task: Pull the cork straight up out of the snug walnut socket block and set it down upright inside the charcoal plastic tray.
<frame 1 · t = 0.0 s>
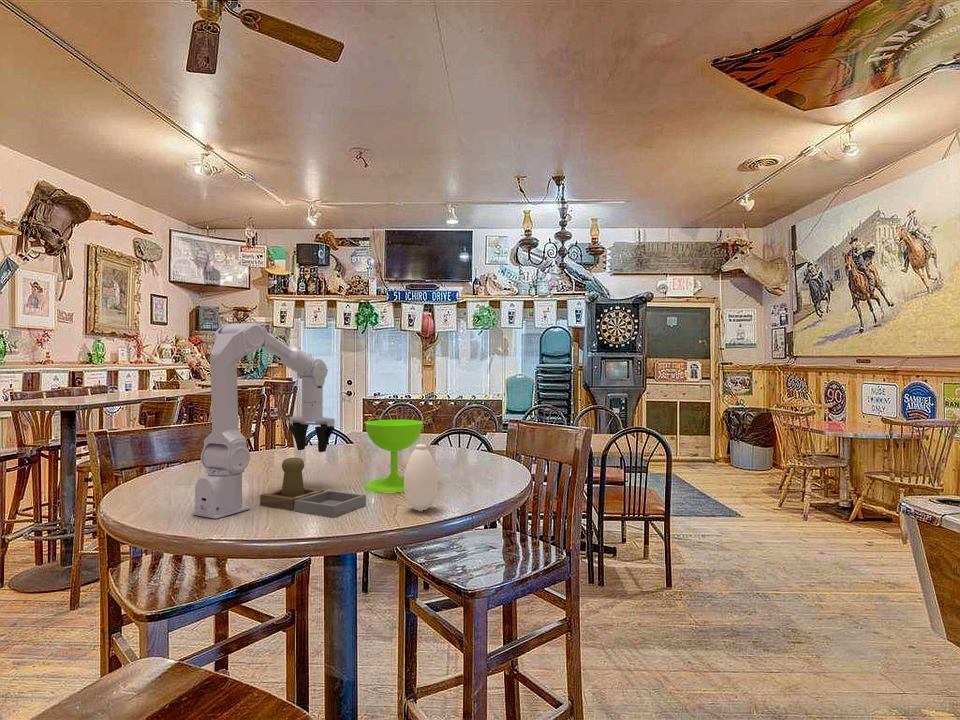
hand: (311, 450, 149), 10 cm above the table, tool pointing down, fingers open, 7 cm apart
cork: (292, 503, 132), resting in socket block
tray: (330, 508, 127), on the table
wineglass: (393, 487, 150), on the table
socket block: (292, 502, 132), on the table
sauce bottle: (420, 511, 125), on the table
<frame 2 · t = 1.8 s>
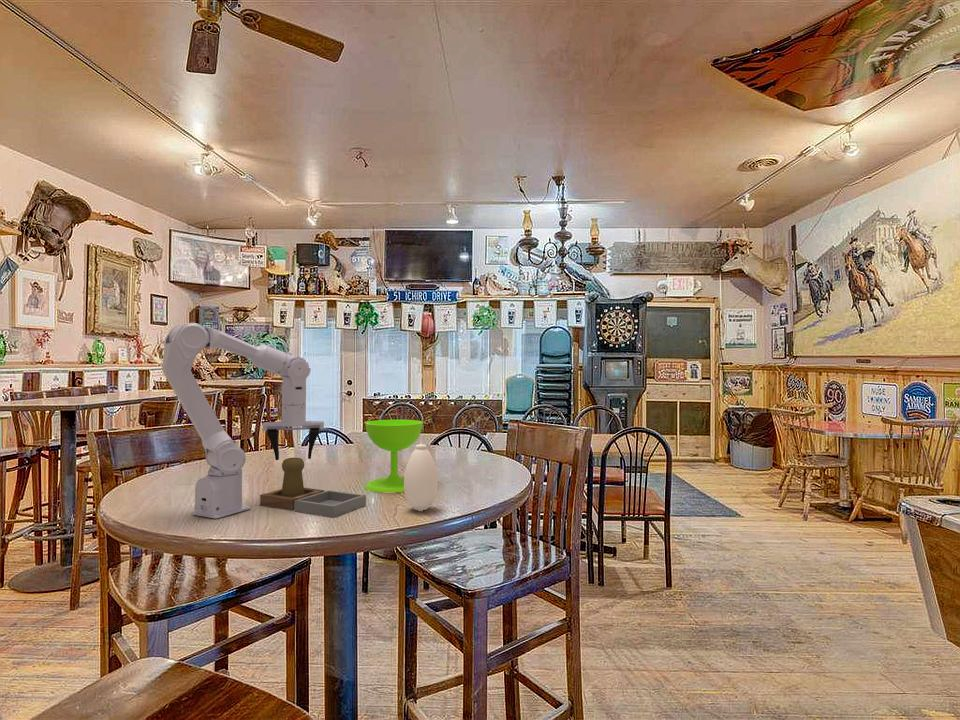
hand: (293, 458, 134), 10 cm above the table, tool pointing down, fingers open, 7 cm apart
nothing on the table moved.
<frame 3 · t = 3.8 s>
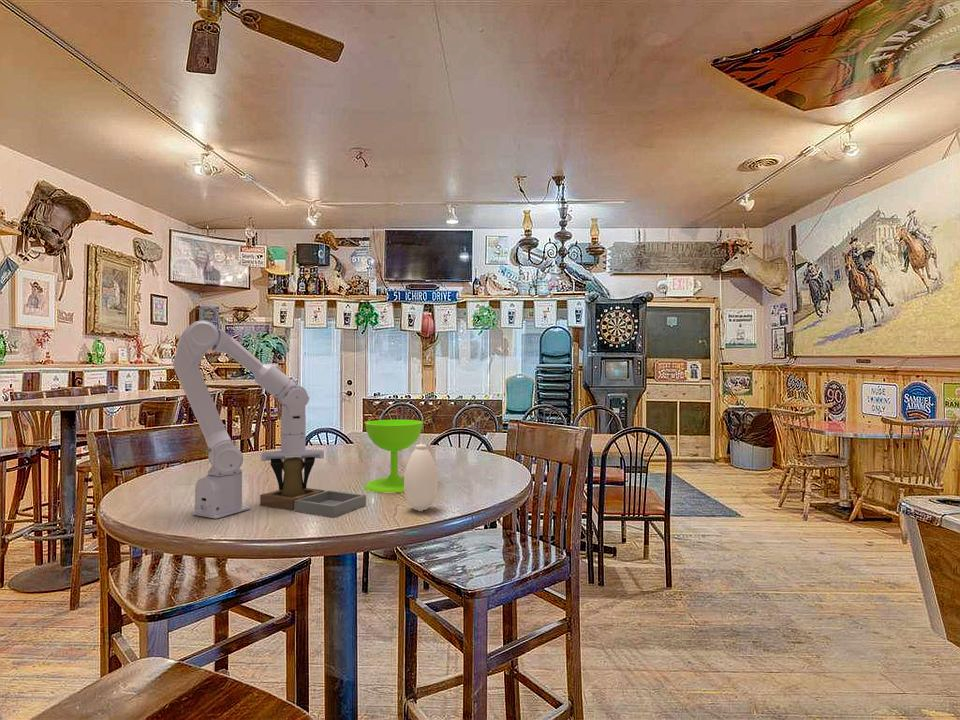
hand: (292, 488, 132), 3 cm above the table, tool pointing down, fingers closed on cork, 5 cm apart
cork: (292, 503, 132), resting in socket block, touching gripper
everything else where it was.
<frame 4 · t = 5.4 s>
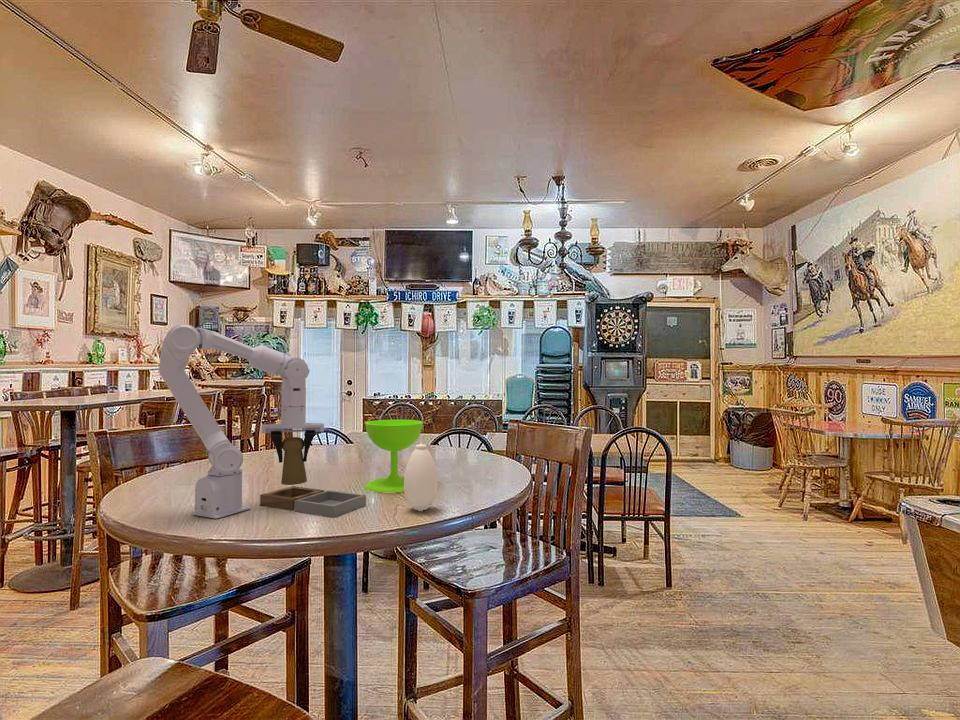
hand: (293, 461, 132), 10 cm above the table, tool pointing down, fingers closed on cork, 5 cm apart
cork: (294, 482, 132), point 5 cm above the table, touching gripper
everything else where it was.
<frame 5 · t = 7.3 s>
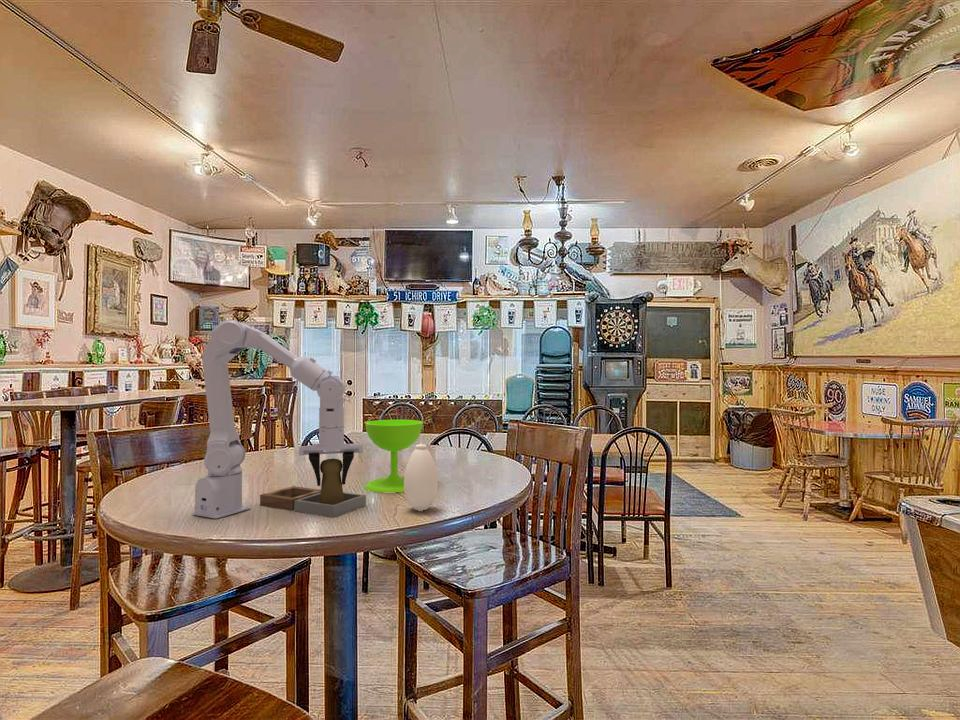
hand: (331, 484, 127), 6 cm above the table, tool pointing down, fingers closed on cork, 5 cm apart
cork: (332, 506, 128), resting on tray, touching gripper
everything else where it was.
when the fingers open (6 cm above the table, at t = 7.8 s): cork stays where it is, resting on tray.
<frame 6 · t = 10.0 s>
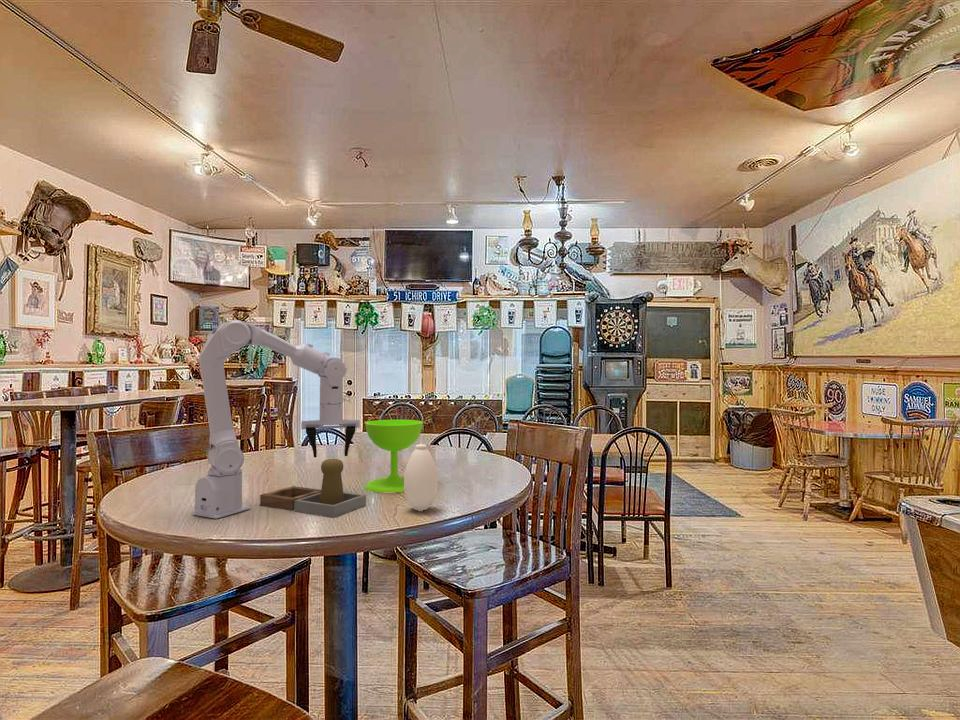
hand: (330, 456, 138), 10 cm above the table, tool pointing down, fingers open, 7 cm apart
cork: (332, 506, 128), resting on tray
everything else where it was.
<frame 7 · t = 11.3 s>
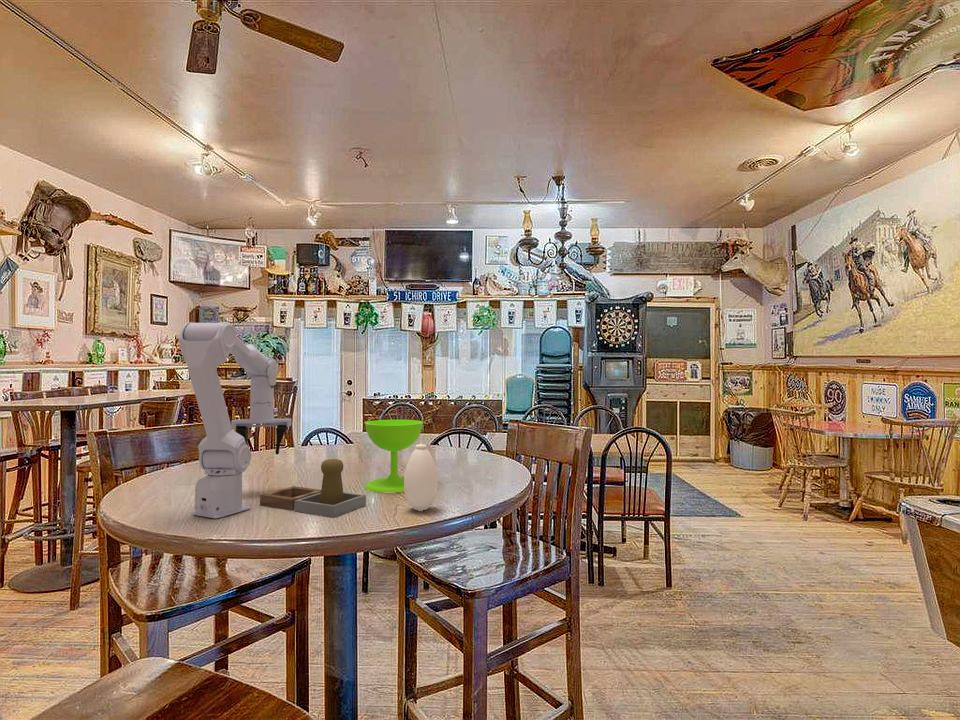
hand: (261, 454, 141), 10 cm above the table, tool pointing down, fingers open, 7 cm apart
nothing on the table moved.
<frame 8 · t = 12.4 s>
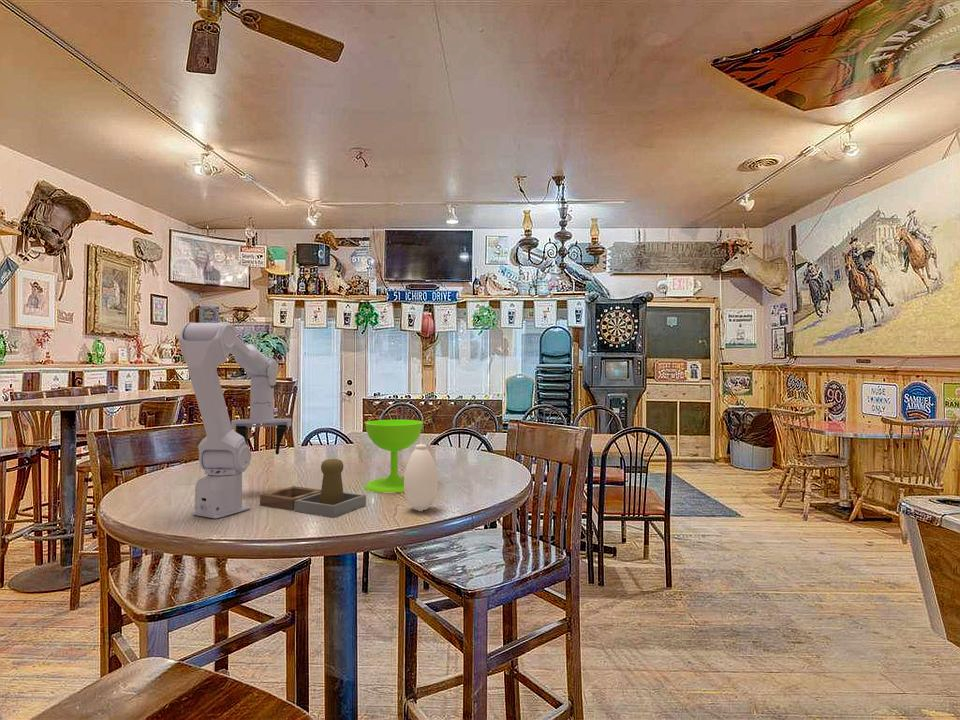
hand: (261, 454, 141), 10 cm above the table, tool pointing down, fingers open, 7 cm apart
nothing on the table moved.
at the end: cork 0.9 cm off-centre on the tray, point 0.2 cm above the tray's base; cork tilted 0°; the gripper is holding nothing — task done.
